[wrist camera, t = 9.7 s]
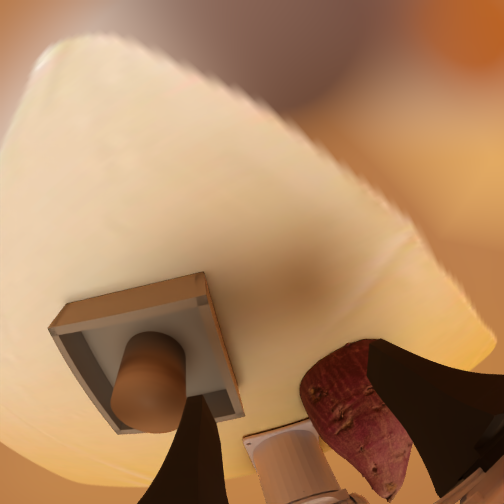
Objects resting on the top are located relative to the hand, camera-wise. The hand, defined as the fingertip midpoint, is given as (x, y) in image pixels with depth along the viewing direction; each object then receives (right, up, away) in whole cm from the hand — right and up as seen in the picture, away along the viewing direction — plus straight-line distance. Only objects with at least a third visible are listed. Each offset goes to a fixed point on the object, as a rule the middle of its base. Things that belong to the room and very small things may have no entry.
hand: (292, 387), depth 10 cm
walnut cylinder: (-9, -2, +8) cm, 12 cm away
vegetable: (+8, -7, +14) cm, 17 cm away
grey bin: (-9, -2, +9) cm, 13 cm away
